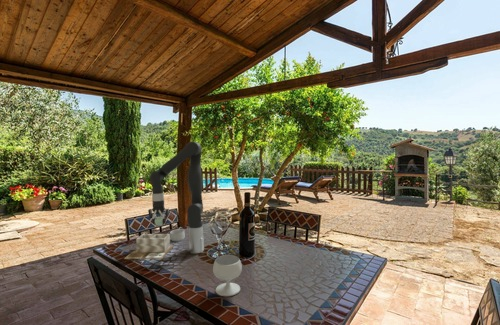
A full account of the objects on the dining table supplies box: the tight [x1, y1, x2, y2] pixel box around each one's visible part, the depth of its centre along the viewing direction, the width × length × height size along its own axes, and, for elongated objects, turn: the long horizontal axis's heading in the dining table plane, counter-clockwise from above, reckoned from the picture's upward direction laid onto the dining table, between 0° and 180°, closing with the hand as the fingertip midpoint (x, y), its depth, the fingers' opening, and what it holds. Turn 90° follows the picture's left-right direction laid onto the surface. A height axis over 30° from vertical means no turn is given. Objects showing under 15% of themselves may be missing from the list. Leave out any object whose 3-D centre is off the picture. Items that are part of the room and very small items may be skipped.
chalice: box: [212, 254, 243, 297], centre depth 121 cm, size 14×14×15 cm
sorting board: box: [123, 233, 176, 260], centre depth 167 cm, size 25×23×10 cm
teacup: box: [169, 228, 185, 242], centre depth 194 cm, size 14×11×8 cm
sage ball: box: [154, 216, 164, 226], centre depth 171 cm, size 6×6×6 cm
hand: (159, 223), depth 171 cm, fingers closed on sage ball, 6 cm apart
